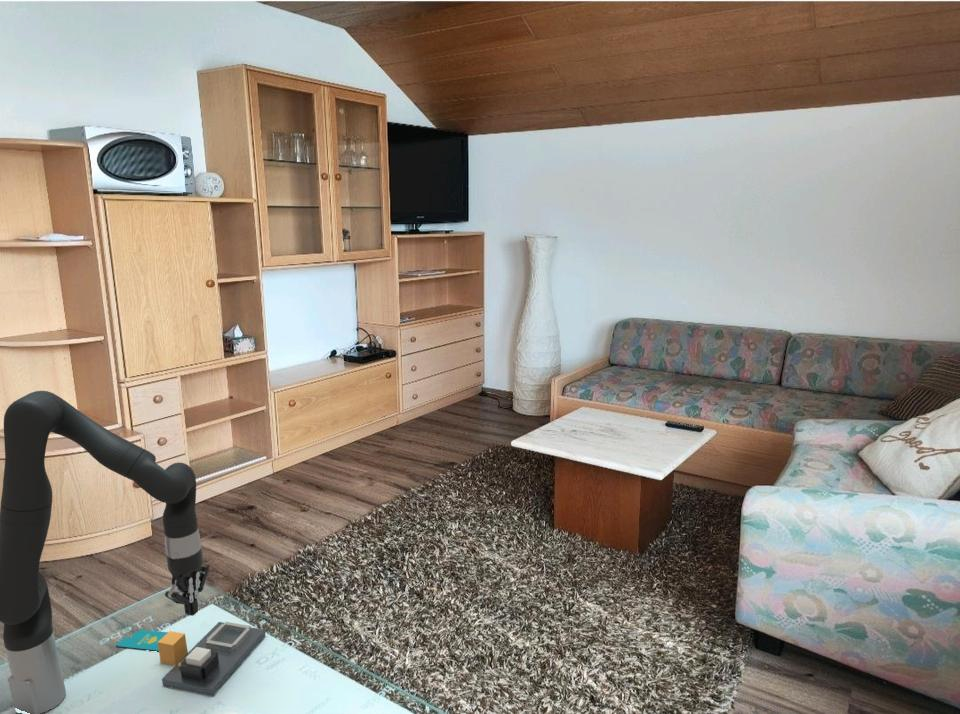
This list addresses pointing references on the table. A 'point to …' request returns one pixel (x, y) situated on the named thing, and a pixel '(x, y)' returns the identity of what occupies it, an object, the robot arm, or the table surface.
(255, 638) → the grey control panel
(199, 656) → the button
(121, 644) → the smartphone
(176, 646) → the cap
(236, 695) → the table surface
